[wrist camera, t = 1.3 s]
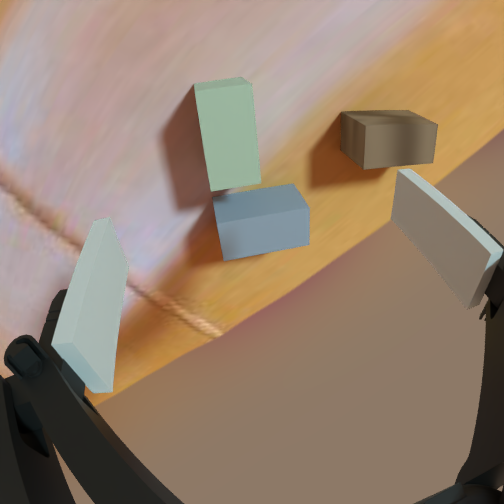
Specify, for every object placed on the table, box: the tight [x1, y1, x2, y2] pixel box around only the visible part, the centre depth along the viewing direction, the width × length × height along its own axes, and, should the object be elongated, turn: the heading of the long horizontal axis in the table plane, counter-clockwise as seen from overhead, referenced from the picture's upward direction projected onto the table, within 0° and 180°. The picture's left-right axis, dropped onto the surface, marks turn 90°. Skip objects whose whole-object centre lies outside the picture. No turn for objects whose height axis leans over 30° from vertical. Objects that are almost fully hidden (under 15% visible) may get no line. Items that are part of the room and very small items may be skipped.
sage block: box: [194, 77, 261, 192], centre depth 25 cm, size 8×4×5 cm, turn 5°
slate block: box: [212, 184, 310, 261], centre depth 30 cm, size 8×4×5 cm, turn 96°
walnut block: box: [341, 110, 438, 170], centre depth 27 cm, size 8×4×5 cm, turn 96°
